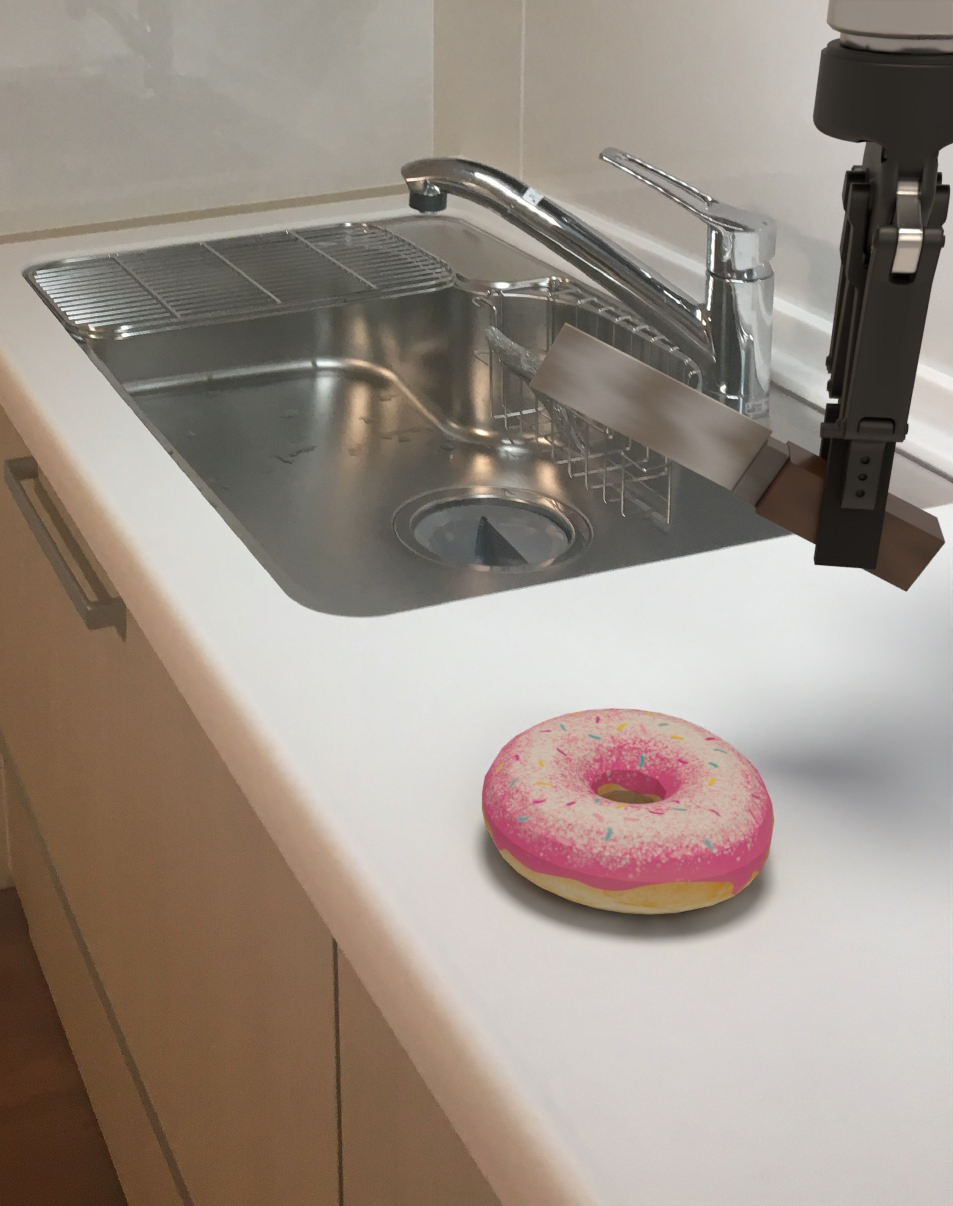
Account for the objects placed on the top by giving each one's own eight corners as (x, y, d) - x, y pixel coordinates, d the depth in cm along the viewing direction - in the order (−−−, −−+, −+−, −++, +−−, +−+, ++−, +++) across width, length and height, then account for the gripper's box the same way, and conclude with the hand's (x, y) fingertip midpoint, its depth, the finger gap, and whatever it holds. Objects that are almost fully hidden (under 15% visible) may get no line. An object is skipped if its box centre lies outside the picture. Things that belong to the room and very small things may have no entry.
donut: (521, 950, 72) (527, 856, 70) (449, 787, 84) (452, 702, 82) (817, 923, 73) (833, 830, 71) (704, 766, 85) (715, 681, 83)
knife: (899, 566, 80) (944, 509, 79) (906, 592, 78) (952, 533, 76) (531, 375, 81) (567, 314, 79) (526, 394, 79) (562, 332, 77)
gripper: (811, 13, 77) (754, 481, 87) (837, 66, 63) (765, 614, 73) (986, 12, 75) (906, 490, 85) (1052, 66, 61) (947, 629, 71)
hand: (841, 547), depth 79 cm, fingers closed on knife, 3 cm apart
